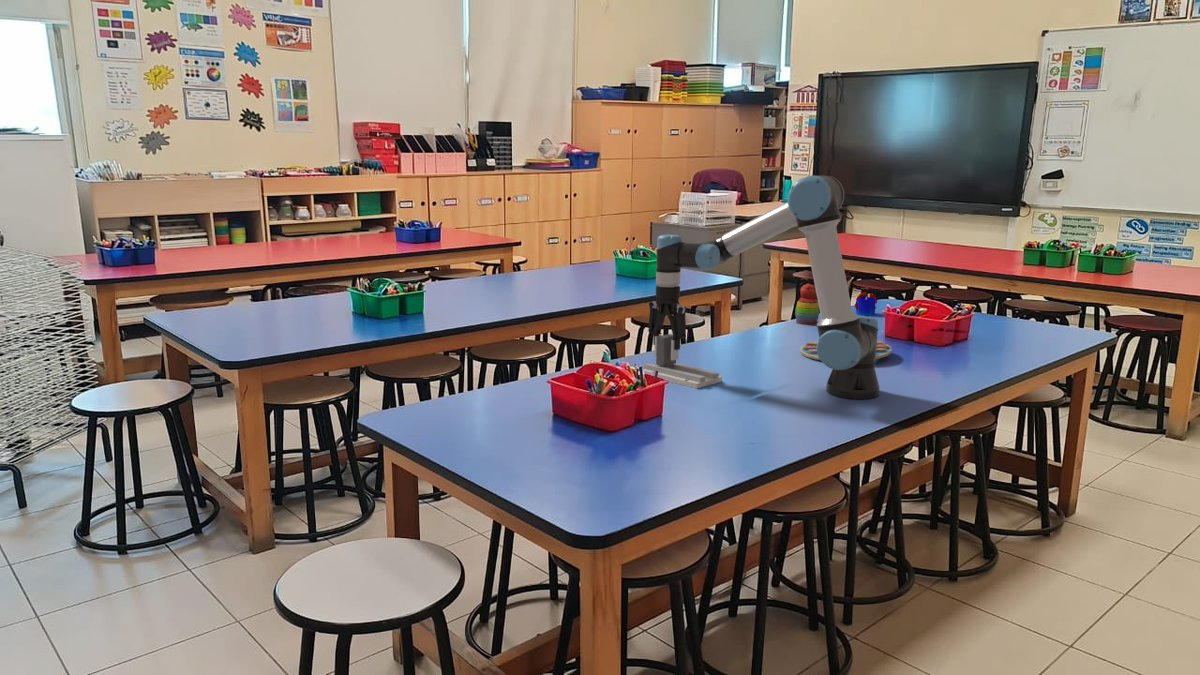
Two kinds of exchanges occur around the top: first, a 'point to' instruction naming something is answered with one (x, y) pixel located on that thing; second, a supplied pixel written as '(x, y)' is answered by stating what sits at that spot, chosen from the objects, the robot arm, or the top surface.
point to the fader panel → (686, 383)
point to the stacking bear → (807, 306)
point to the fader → (664, 351)
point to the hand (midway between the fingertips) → (666, 357)
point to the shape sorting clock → (811, 352)
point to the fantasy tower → (865, 304)
